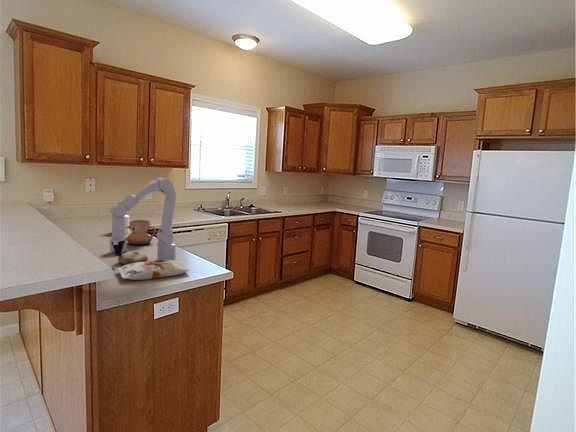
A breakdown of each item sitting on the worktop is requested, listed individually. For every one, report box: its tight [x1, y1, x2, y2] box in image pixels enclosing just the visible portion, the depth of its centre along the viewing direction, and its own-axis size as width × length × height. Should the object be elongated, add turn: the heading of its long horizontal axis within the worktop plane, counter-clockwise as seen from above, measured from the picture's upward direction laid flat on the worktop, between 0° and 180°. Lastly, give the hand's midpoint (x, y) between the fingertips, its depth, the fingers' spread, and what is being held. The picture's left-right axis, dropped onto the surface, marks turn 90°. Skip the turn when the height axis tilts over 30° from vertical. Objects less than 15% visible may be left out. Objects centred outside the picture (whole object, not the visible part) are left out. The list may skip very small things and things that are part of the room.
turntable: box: [117, 250, 149, 265], centre depth 182 cm, size 14×14×6 cm
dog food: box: [117, 259, 190, 281], centre depth 168 cm, size 30×18×5 cm, turn 125°
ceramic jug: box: [125, 219, 157, 246], centre depth 220 cm, size 18×14×14 cm
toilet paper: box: [125, 214, 131, 235], centre depth 245 cm, size 10×10×12 cm
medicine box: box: [109, 236, 127, 255], centre depth 198 cm, size 8×4×9 cm, turn 126°
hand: (118, 255), depth 176 cm, fingers closed
